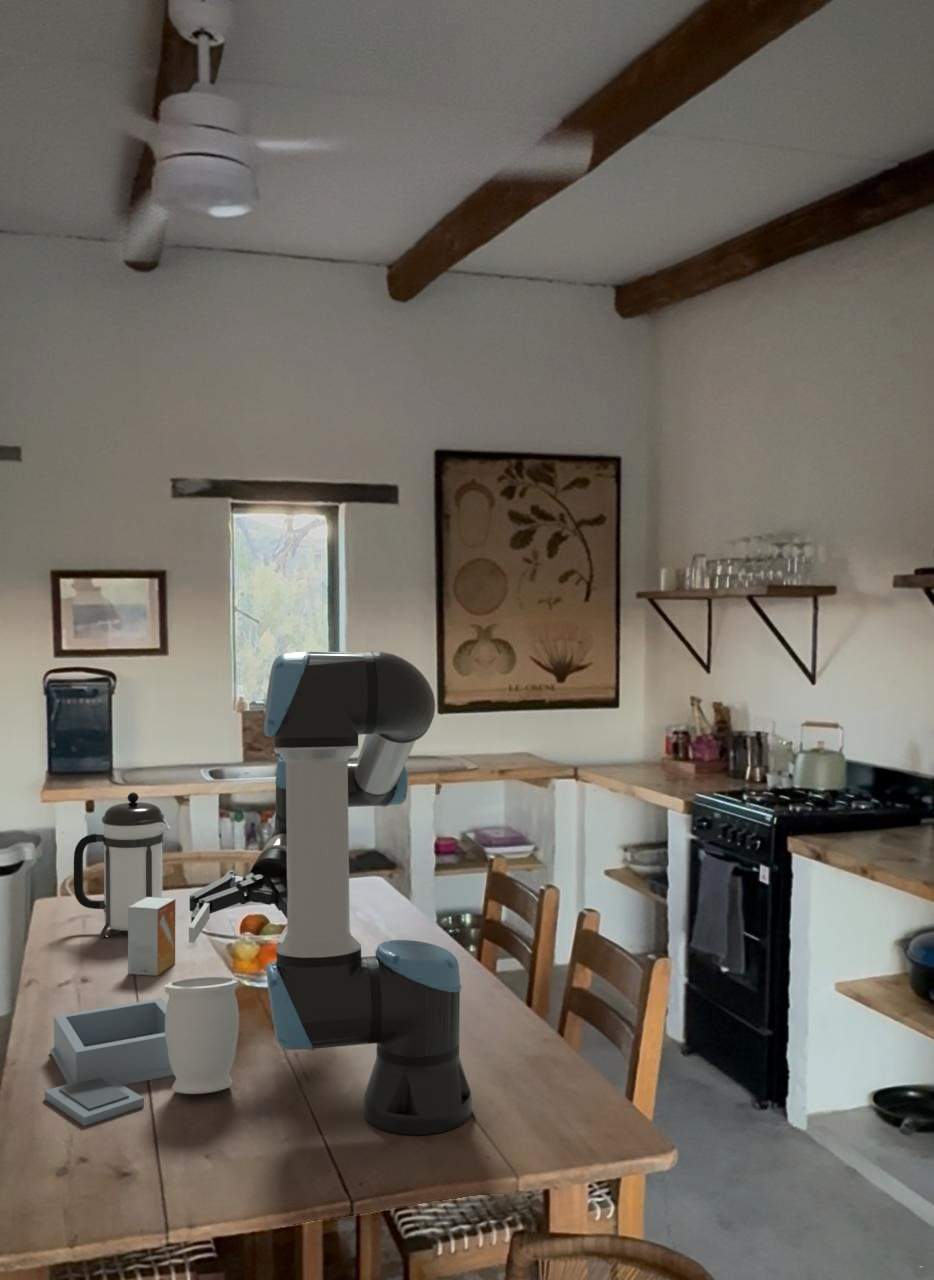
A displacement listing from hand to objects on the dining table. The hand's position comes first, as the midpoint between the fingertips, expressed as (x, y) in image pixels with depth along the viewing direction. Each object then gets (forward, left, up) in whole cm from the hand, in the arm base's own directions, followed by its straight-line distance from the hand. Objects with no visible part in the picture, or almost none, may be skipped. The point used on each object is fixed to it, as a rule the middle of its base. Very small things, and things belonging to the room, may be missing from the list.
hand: (235, 942), depth 173 cm
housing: (+16, +13, -21) cm, 29 cm away
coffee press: (+87, -5, -21) cm, 90 cm away
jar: (-1, +5, -20) cm, 21 cm away
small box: (+59, -3, -21) cm, 63 cm away
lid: (+3, +20, -21) cm, 29 cm away
